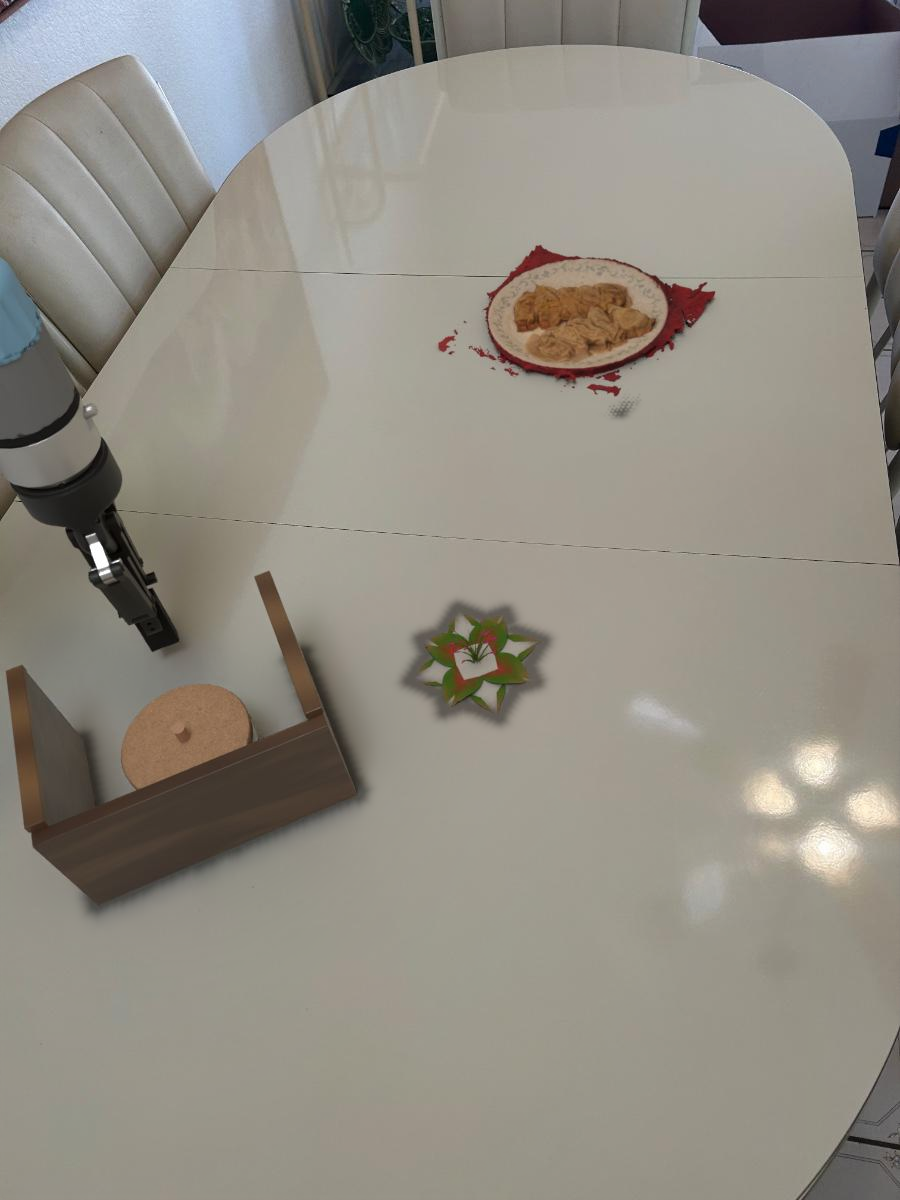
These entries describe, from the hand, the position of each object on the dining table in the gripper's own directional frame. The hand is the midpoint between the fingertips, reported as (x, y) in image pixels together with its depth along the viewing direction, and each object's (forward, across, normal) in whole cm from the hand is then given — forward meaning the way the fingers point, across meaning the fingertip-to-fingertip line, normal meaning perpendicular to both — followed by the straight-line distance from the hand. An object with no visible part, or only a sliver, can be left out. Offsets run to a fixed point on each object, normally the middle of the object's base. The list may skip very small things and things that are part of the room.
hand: (164, 640), depth 88 cm
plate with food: (+3, +27, -57) cm, 63 cm away
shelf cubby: (+3, -13, 0) cm, 13 cm away
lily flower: (+3, -14, -26) cm, 30 cm away
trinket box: (+3, -15, -1) cm, 15 cm away
